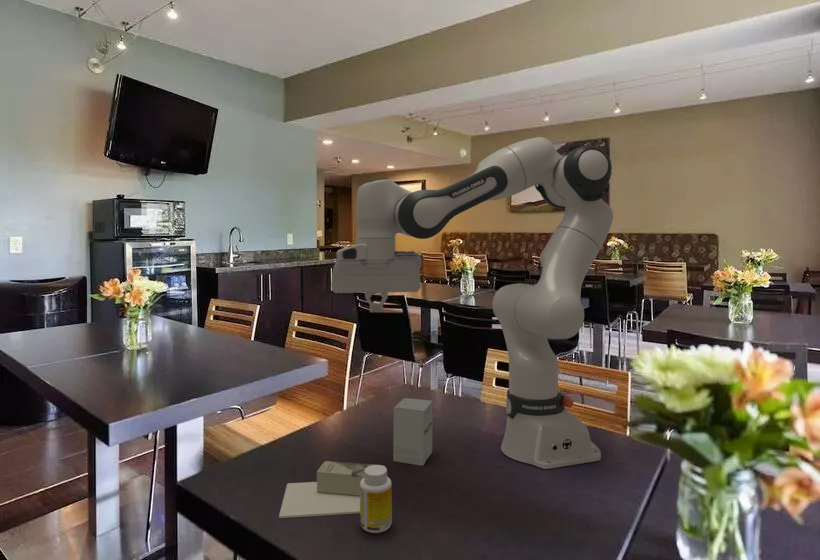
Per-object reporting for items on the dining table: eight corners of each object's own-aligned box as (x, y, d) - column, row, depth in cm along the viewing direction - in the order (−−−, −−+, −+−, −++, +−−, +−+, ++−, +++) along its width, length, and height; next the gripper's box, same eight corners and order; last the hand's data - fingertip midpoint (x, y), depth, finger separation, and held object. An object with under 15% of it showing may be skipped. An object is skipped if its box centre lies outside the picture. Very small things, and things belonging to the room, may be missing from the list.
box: (380, 476, 98) (315, 471, 100) (380, 498, 98) (316, 493, 100) (385, 464, 103) (324, 459, 105) (385, 485, 103) (324, 480, 105)
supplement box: (424, 466, 112) (424, 410, 111) (392, 461, 115) (392, 407, 113) (433, 452, 119) (433, 400, 118) (403, 448, 121) (403, 396, 120)
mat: (375, 480, 106) (375, 478, 106) (378, 512, 94) (378, 510, 94) (287, 485, 104) (287, 483, 104) (279, 518, 92) (278, 516, 92)
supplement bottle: (398, 525, 90) (398, 469, 89) (375, 538, 86) (374, 480, 85) (376, 513, 94) (376, 459, 93) (353, 525, 90) (352, 470, 89)
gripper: (419, 250, 119) (419, 309, 121) (331, 251, 117) (332, 310, 119) (423, 251, 113) (423, 313, 115) (330, 252, 111) (331, 315, 112)
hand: (376, 311), depth 117 cm, fingers closed
